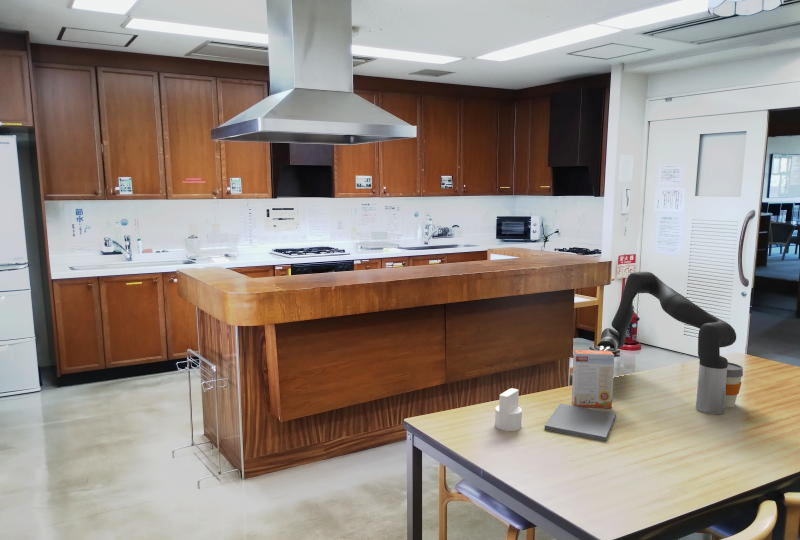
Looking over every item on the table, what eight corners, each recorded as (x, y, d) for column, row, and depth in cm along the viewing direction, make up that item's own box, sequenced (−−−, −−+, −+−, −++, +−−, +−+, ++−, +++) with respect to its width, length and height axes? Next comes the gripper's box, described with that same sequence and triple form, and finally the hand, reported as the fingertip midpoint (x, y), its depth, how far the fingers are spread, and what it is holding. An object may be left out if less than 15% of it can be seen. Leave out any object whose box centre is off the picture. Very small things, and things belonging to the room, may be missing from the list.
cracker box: (608, 403, 226) (611, 350, 223) (612, 408, 220) (615, 354, 217) (570, 401, 228) (573, 348, 225) (573, 407, 222) (576, 353, 219)
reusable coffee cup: (746, 409, 220) (750, 370, 218) (712, 408, 221) (716, 369, 219) (728, 397, 233) (732, 361, 231) (696, 397, 233) (700, 360, 231)
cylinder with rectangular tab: (514, 433, 198) (515, 398, 196) (490, 426, 203) (491, 393, 202) (525, 424, 205) (527, 391, 203) (502, 418, 210) (503, 386, 209)
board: (615, 416, 212) (616, 413, 212) (605, 441, 192) (606, 437, 191) (559, 407, 221) (559, 403, 221) (544, 429, 201) (544, 425, 201)
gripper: (592, 336, 256) (584, 345, 241) (624, 340, 250) (618, 350, 235) (591, 353, 257) (583, 363, 242) (623, 357, 251) (617, 368, 236)
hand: (601, 356), depth 239 cm, fingers closed
